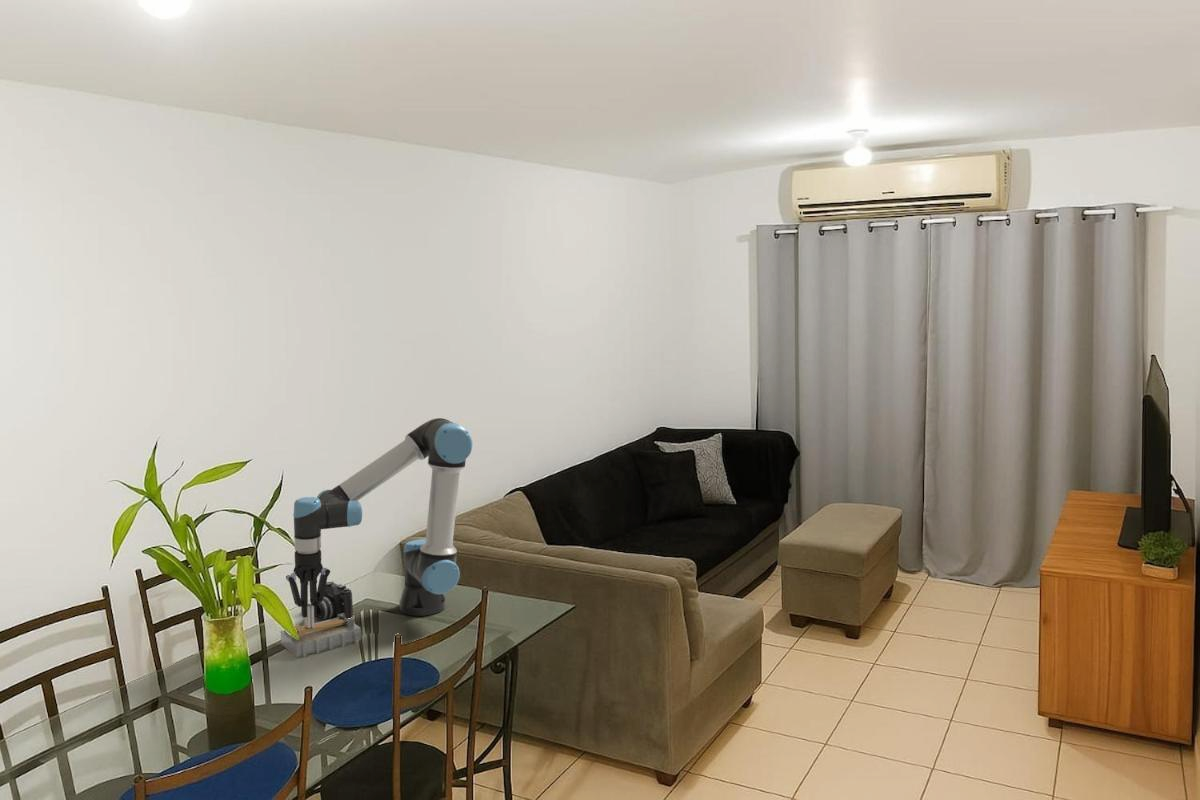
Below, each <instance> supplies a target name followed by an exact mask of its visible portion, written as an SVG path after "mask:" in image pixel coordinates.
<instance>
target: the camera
mask: <svg viewBox="0 0 1200 800" xmlns="http://www.w3.org/2000/svg"><path fill="white" fill-rule="evenodd" d="M353 604H354V603H353V593H352V589H350V588H348V587H346V585H345V584H342V583H340V584H337V583H335V581H334V580H333V581H327V582H326V587H325V592H324V597H323V601H322V602H319V603H318V606H317V614H316V615H314V619H316V620H320V621H325V619H326V620H329V619H332V618H334V617H338V614H341V613H344V614H345V617H346V618H347V619H348V618H351V617H352V618H353V617H354V610H353V609H354V608H353V607H354V606H353ZM352 618H351V619H352Z"/></svg>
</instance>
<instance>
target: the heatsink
mask: <svg viewBox="0 0 1200 800" xmlns="http://www.w3.org/2000/svg"><path fill="white" fill-rule="evenodd" d="M342 617H345V614H344V613H341V614H338V616H336V617H332V618H329V619H326V620H325V619H324V620H320V621H317V622H314V624H318V623H323V622H328V621H333V620H338V619H341V618H342ZM345 618H346V617H345ZM346 619H347V618H346ZM354 622H355V621H354V619H353V618H351V619H348V620H346V623H345V625H340V626H335V627H330V628H325V629H320V630H315V631H310V632H305V634H302V635H299V640H296V639H294V638H293V637H291V636H290V635H289V634H288V633H287V632H286V631H285V630H284V629H283V630H281V631H280V644H281V645H282V647H284V648H285V649H286V651H287V650H288V651H289V652H290V653H291V654H292V655H293V656H294V657H296V658H300V657H303V658H305V657H307V656H308V655H311V654H310V653H312V654H314V653H315V652H316V654H320V652H322V651H323V652H324V651H326V650H328V651H331V650H333V649H334V648H337V647H345V646H346V645H349V644H352V643H354V644H357V643H358V642H359V641H362V633H361V632H362V630H361V626H359V625H357V624H356V623H354ZM302 626H303V625H302ZM302 626H300V627H302ZM307 654H308V655H307Z"/></svg>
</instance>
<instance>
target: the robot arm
mask: <svg viewBox="0 0 1200 800" xmlns="http://www.w3.org/2000/svg"><path fill="white" fill-rule="evenodd" d="M472 451H473V439H472V436H471V434H470V433H469V431H468V430H467V429H466V428H464V427H463V426H462V425H461V424H458V423H456V422H453V421H450V420H448V419H447V418H443V417H442V418H441V417H437V418H433V419H429V420H428V421H425V422H424V423H422V424H421V425H419V426H417V427H416V428H415V429H413V430H412V431H411V432H410V431H409V433H407V434H406V435H405V436H404V440H403V441H402V442H401V441H400V443H398V444H396V446H394V447H392V448H391V449H390V450H388V451H387V452H385V453H384V454H382V455H381V456H379V457H377V459H375V460H374V461H372V462H370V463H369V464H368V465H366V466H365V467H363V468H362V469H360V470H359V471H357V472H356V473H354V474H352V475H351V476H350V477H348V478H347V479H345V480H344V481H343V482H341V483H340V484H338V485H337V486H335V487H334V488H332V489H324V490H322V491H321V492H320V493H318V495H317V496H316V497H314V496H311V497H309V496H308V497H307V496H304V497H300V498H298V499H296V500H295V501H294V502H293V515H292V516H293V529H294V530H293V531H294V532H293V533H294V534H293V535H294V536H293V537H294V540H293V541H294V569H293V572H291V574H290V575H289V574H287V575H286V576H285V579H286V581H288V582H289V587H290V590H291V594H292V598H293V602H294V604H295V605H296V606H297V607H298V608H301V609H300V611H301V614H300V615H301V616H302V618H304V620H303V621H304V626H306V627H307V628H311V627H314V623H315V616H314V615H316V614H317V606H318V603H319V602H322V601H323V597H324V592H325V587H326V582H328V577H329V575H330V574H331V570H330V569H329V568H327V567H324V566H323V563H322V550H321V548H322V530H326V529H336V528H346V527H348V528H351V527H353V526H359V525H360V524H361V523H362V521H363V508H362V504H361V502H360V501H359V500H361V499H363V498H364V497H366V496H367V495H368V494H369V493H371V492H372V491H374V490H375V489H377V488H379V487H380V486H382V485H383V484H385V483H386V482H387V481H389V480H390V479H392V478H393V477H394V476H396V475H397V474H399V473H400V472H402V471H403V470H405V469H406V468H408V467H409V466H410V465H412V464H413V463H415V462H417V461H418V460H421V461H423V460H425V459H426V458H427V457H428V458H427V459H428V461H427V464H428V466H429V467H430V468H431V479H430V481H431V482H430V492H429V501H428V503H429V504H428V509H427V510H428V511H427V520H426V521H427V522H426V523H427V524H426V533H425V538H422V539H421V538H420V539H413V540H410V541H407V542H406V543H405V544H404V545H403V546H404V547H403V564H404V565H403V569H404V571H403V572H404V574H403V575H404V579H403V580H404V585H403V586H404V587H403V589H402V593H401V596H400V597H401V598H400V600H399V611H400V612H401V613H403V614H405V615H409V616H415V617H419V616H420V617H421V616H431V615H435V614H439V613H441V612H442V611H445V609H446V606H447V605H446V603H447V600H446V597H445V594H446V593H449V592H450V591H452V590H453V589H454V588H455V587H456V586H457V584H458V583H459V581H460V576H461V575H460V574H461V572H460V568H459V566H458V565H457V552H458V551H457V548H456V547H455V546H454V544H453V543H454V532H455V522H456V514H457V513H456V512H457V503H458V502H457V501H458V492H459V483H460V482H459V481H460V472H461V471H462V470H463V469H464V468H465V467H466V462H467V461H466V460H467V459H468V457H469V456H470V455H471V453H472ZM297 578H298V579H299V583H300V592H299V586H298V584H297V582H296V581H297ZM318 578H319V581H318ZM317 584H318V585H317ZM308 587H309V588H308ZM308 594H309V595H308ZM308 601H310V603H309V602H308Z"/></svg>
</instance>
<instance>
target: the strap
mask: <svg viewBox="0 0 1200 800" xmlns="http://www.w3.org/2000/svg"><path fill="white" fill-rule="evenodd" d="M346 620H348V619H346V618H345V617H342V618H341V619H338V620H333V621H328V622H323V623H318V624H314V627H311V628H307V627H306V626H305V625H302V627H301V626H300V625H299V624H295V628H296V630H297V633H298V635H302V634H305V632H310V631H315V630H320V629H325V628H330V627H335V626H340V625H345V623H346Z"/></svg>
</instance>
